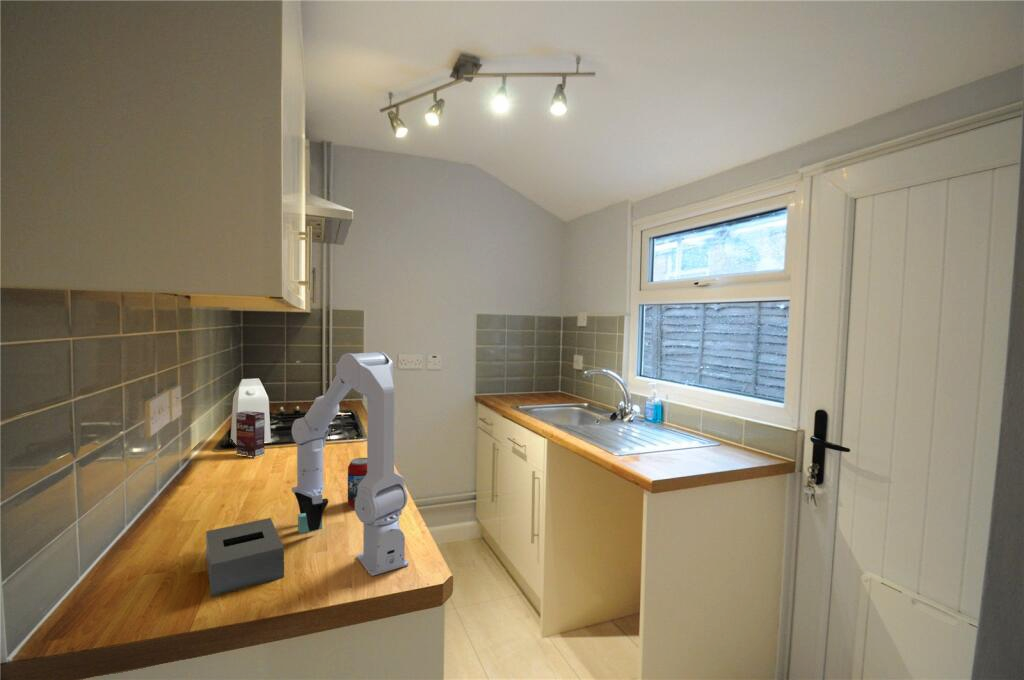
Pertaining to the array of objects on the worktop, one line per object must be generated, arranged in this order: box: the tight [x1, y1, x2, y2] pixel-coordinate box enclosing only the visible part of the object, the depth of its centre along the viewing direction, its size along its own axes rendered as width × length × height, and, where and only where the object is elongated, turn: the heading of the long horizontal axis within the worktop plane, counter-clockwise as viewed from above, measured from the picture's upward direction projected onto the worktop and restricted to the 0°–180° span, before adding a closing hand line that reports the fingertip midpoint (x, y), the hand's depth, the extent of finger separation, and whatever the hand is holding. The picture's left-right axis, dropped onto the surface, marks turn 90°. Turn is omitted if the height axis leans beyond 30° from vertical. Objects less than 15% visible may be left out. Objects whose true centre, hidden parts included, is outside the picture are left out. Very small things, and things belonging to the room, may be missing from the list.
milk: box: [230, 377, 272, 445], centre depth 184 cm, size 12×12×26 cm
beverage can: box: [347, 457, 367, 508], centre depth 128 cm, size 7×7×12 cm
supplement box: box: [236, 411, 265, 457], centre depth 169 cm, size 9×5×16 cm, turn 73°
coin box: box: [205, 517, 285, 598], centre depth 94 cm, size 16×12×6 cm
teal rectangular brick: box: [297, 513, 323, 535], centre depth 112 cm, size 2×5×4 cm, turn 126°
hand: (310, 523), depth 112 cm, fingers open, 7 cm apart
